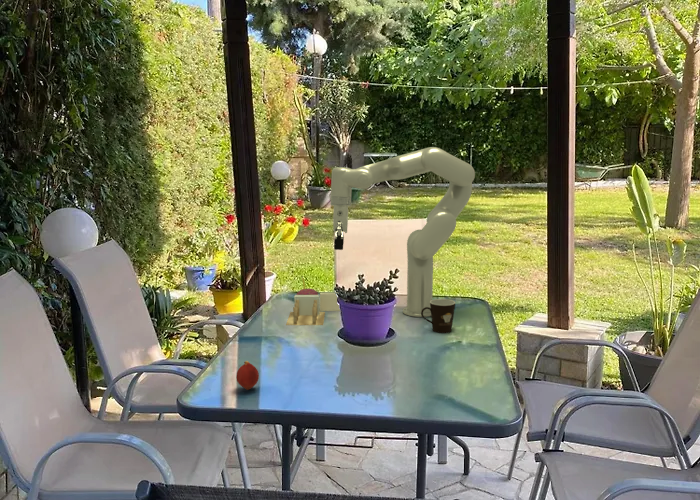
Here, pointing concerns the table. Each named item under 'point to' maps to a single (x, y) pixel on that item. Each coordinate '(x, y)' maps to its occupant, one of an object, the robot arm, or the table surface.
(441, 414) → the table surface
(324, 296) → the cream rectangular slab
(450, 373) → the table surface
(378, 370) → the table surface
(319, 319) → the dish rack
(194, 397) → the table surface
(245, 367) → the onion
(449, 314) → the coffee mug
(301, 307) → the plate
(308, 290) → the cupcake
